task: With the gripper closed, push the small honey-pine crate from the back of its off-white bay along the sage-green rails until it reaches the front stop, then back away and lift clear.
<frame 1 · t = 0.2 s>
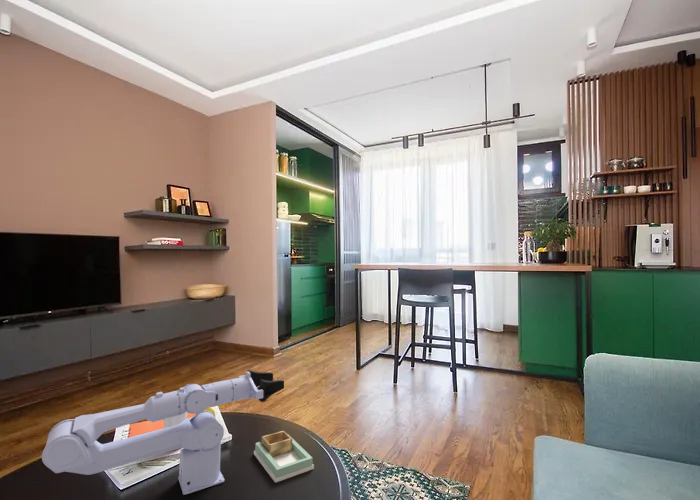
hand: (277, 380, 99), 21 cm above the table, tool horizontal, fingers open, 7 cm apart
bay: (282, 461, 96), on the table
crate: (276, 443, 99), point 3 cm above the table, slide at 0.0 cm
lemon: (205, 432, 112), on the table
drinking glass: (174, 447, 102), on the table
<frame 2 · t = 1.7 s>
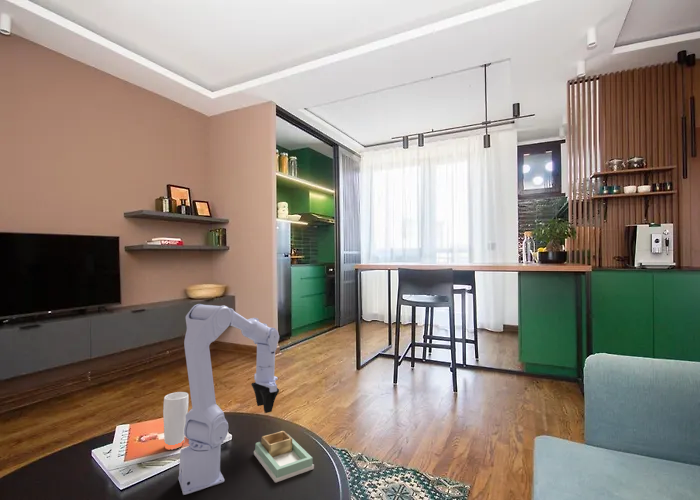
hand: (264, 408, 108), 9 cm above the table, tool pointing down, fingers open, 6 cm apart
nothing on the table moved.
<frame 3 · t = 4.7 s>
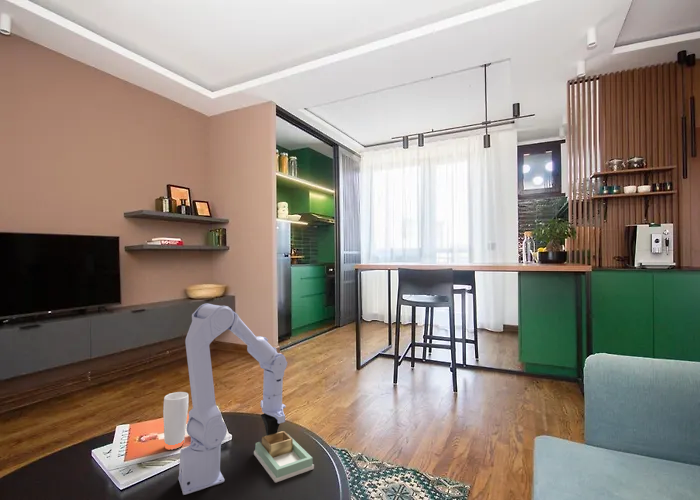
hand: (271, 438, 103), 3 cm above the table, tool pointing down, fingers closed
crate: (277, 444, 99), point 3 cm above the table, slide at 0.2 cm, touching gripper
everything else where it was.
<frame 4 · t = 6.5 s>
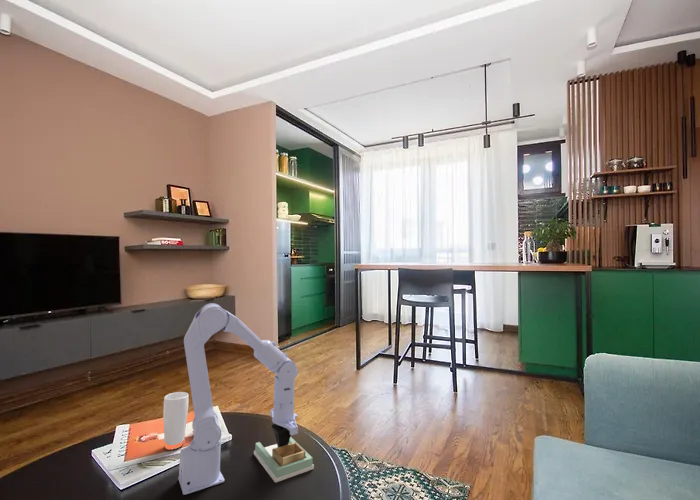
hand: (282, 450, 96), 3 cm above the table, tool pointing down, fingers closed
crate: (288, 456, 93), point 3 cm above the table, slide at 8.3 cm, touching gripper
everything else where it was.
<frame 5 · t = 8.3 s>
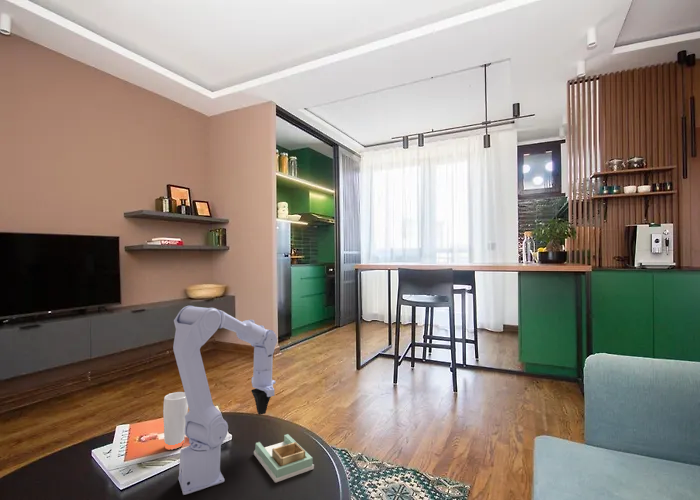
hand: (261, 413, 105), 9 cm above the table, tool pointing down, fingers closed
crate: (288, 456, 93), point 3 cm above the table, slide at 8.2 cm
everything else where it was.
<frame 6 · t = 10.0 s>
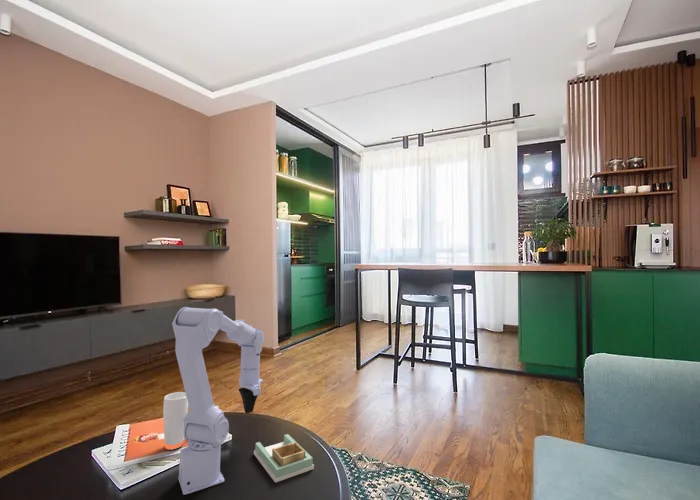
hand: (248, 412, 106), 9 cm above the table, tool pointing down, fingers closed
nothing on the table moved.
at the end: crate slide at 8.2 cm; crate 0.0 cm from the target spot, resting on bay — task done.
